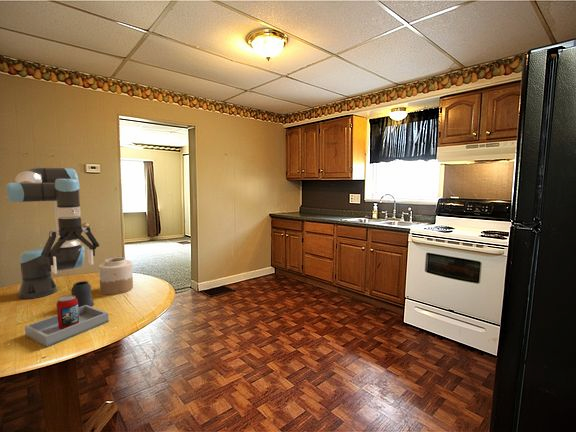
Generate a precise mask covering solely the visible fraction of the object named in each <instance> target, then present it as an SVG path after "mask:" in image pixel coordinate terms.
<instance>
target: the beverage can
mask: <svg viewBox="0 0 576 432" xmlns="http://www.w3.org/2000/svg"><path fill="white" fill-rule="evenodd" d="M56 313H57V314H56V315H57V317H58V326H59V328H60V329H65V328H67V327H70V326H72V325H75V324H77V323H79V311H78V300H77V299H76V297H75V296H74V295H72V294H69V295H64V296H61V297H59V298H58V299H57V302H56Z"/></svg>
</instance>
